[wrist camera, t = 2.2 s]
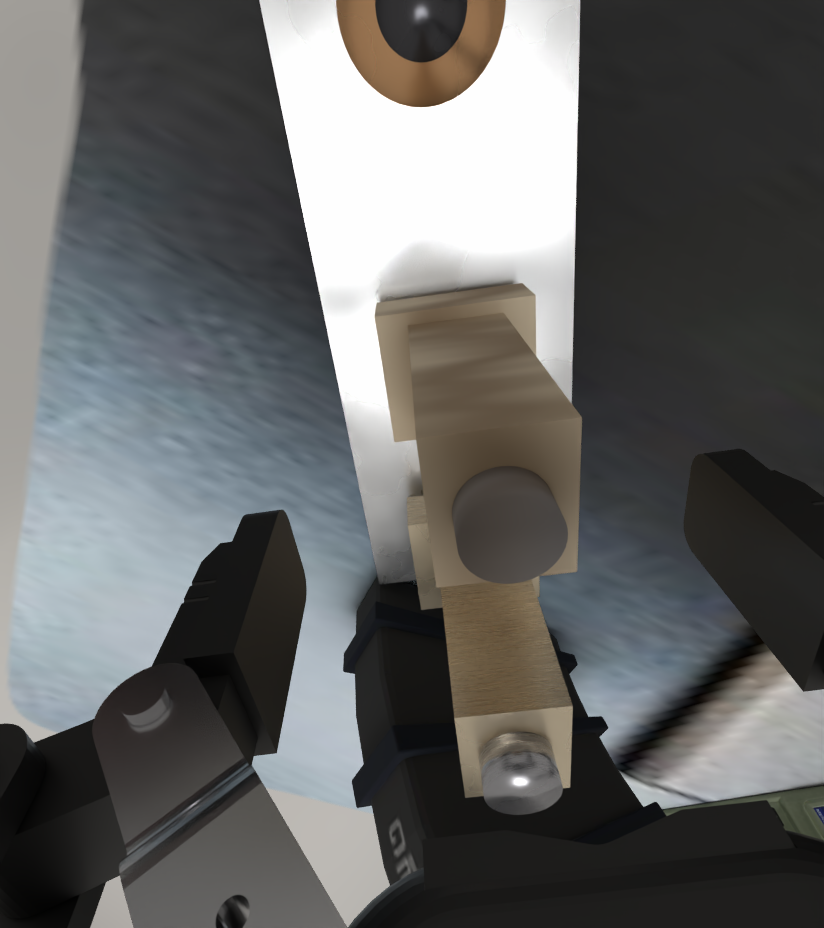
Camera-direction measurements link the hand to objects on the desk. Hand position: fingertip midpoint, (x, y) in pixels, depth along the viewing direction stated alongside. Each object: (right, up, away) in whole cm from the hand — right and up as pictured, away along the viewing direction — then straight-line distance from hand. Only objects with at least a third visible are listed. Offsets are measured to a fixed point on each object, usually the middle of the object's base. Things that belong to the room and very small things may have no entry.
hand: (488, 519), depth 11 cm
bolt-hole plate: (0, +9, +9) cm, 12 cm away
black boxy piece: (+2, -8, +18) cm, 20 cm away
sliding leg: (0, +5, +9) cm, 10 cm away
